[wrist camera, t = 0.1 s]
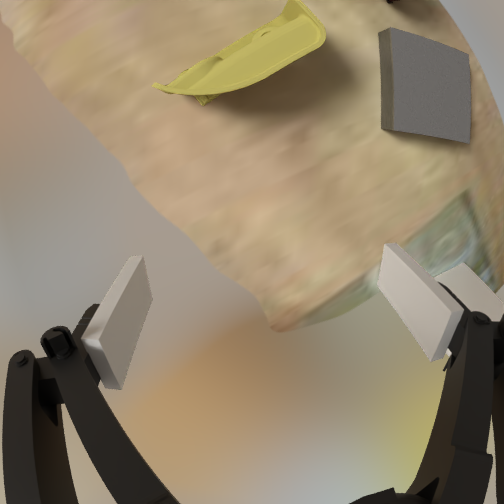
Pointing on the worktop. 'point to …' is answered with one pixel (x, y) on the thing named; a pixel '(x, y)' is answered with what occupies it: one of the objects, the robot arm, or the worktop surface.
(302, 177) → the worktop surface
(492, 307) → the milk
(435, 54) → the stand
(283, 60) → the plastic component
